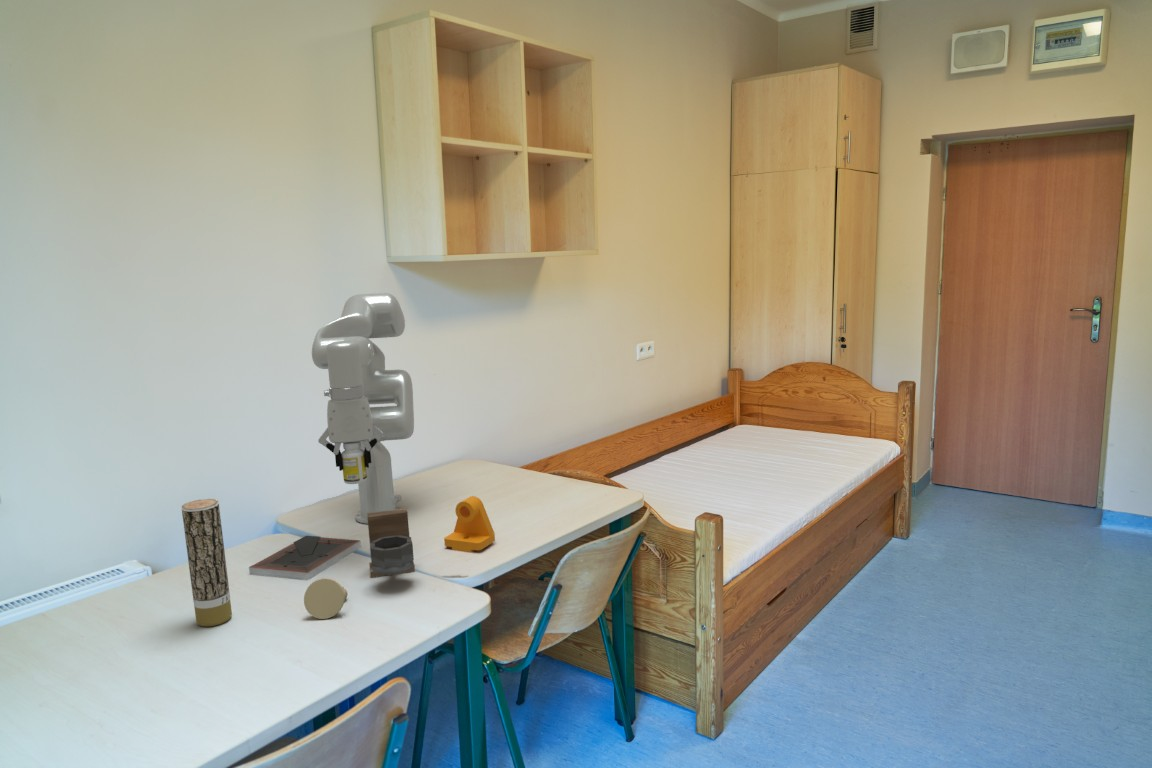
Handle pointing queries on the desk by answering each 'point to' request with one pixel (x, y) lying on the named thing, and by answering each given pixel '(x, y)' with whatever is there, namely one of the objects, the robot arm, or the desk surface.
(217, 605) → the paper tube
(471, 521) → the bracket
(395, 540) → the cup bracket
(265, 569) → the picture frame
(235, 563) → the desk surface
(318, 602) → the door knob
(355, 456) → the supplement bottle
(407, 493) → the desk surface
